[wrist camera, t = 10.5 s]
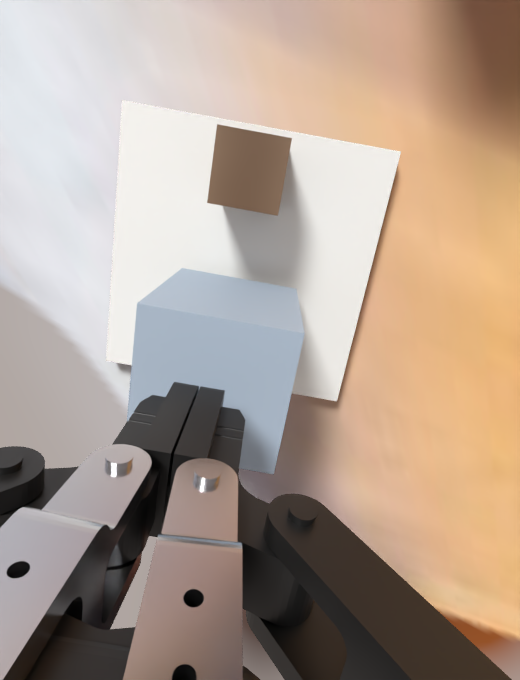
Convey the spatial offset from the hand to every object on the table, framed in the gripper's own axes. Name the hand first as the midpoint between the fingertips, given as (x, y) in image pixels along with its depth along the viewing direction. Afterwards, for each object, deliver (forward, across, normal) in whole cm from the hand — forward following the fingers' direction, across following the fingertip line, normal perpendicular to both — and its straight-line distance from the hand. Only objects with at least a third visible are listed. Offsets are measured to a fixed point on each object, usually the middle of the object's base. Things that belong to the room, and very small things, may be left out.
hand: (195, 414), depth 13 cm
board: (+10, 0, -3) cm, 10 cm away
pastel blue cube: (+8, 0, 0) cm, 8 cm away
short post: (+10, 0, -7) cm, 12 cm away
